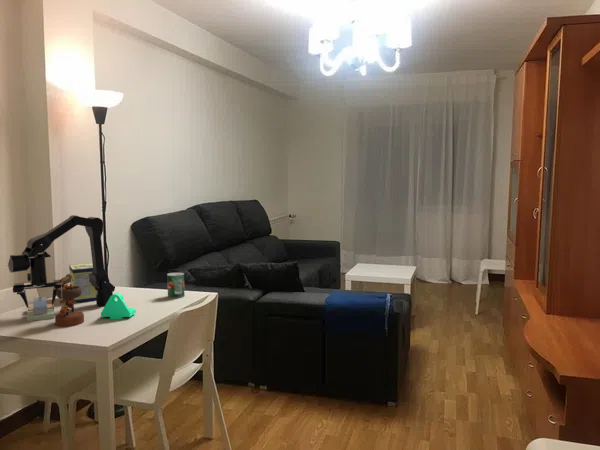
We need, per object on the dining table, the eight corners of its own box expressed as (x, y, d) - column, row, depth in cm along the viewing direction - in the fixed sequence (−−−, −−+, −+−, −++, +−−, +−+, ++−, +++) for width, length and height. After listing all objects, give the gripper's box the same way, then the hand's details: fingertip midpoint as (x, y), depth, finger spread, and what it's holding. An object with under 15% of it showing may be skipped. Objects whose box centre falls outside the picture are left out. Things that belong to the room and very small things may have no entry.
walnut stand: (54, 308, 231) (53, 303, 230) (54, 311, 224) (53, 307, 224) (28, 310, 226) (28, 306, 226) (27, 314, 220) (27, 310, 220)
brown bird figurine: (80, 327, 202) (73, 276, 200) (50, 330, 200) (42, 279, 198) (90, 316, 217) (83, 268, 215) (62, 319, 215) (55, 272, 213)
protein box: (93, 293, 258) (91, 262, 256) (98, 300, 244) (97, 267, 243) (70, 296, 252) (68, 264, 251) (74, 303, 239) (72, 269, 237)
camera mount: (136, 314, 220) (135, 290, 219) (130, 319, 213) (129, 294, 212) (108, 314, 221) (107, 290, 220) (101, 319, 213) (100, 294, 212)
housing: (47, 313, 214) (46, 298, 213) (33, 315, 212) (32, 300, 211) (47, 309, 220) (46, 295, 220) (34, 311, 218) (33, 296, 218)
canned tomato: (164, 297, 250) (163, 274, 248) (176, 293, 256) (175, 271, 255) (176, 299, 245) (175, 276, 244) (188, 295, 252) (187, 273, 251)
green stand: (54, 313, 222) (53, 308, 222) (54, 318, 214) (54, 313, 214) (27, 315, 218) (27, 311, 218) (26, 321, 210) (26, 316, 210)
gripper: (62, 264, 225) (64, 299, 227) (13, 267, 218) (15, 304, 219) (63, 268, 215) (65, 305, 217) (11, 272, 207) (14, 310, 209)
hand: (40, 306), depth 216 cm, fingers open, 9 cm apart
